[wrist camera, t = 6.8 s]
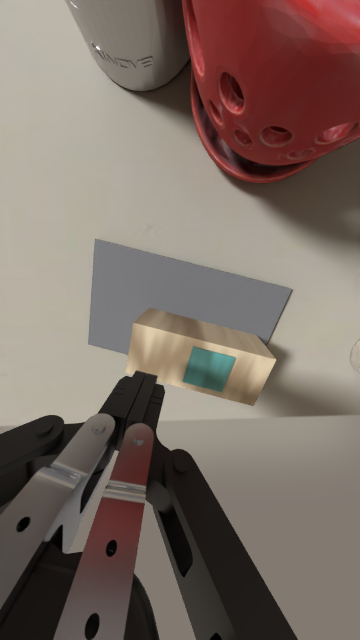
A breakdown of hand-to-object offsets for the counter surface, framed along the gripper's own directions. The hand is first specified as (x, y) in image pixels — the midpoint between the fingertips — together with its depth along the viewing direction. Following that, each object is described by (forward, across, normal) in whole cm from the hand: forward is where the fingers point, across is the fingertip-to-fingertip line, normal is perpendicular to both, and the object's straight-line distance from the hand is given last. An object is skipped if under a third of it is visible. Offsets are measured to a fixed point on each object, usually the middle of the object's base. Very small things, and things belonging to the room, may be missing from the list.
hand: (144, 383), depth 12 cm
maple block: (+6, +2, 0) cm, 6 cm away
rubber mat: (+9, -1, -2) cm, 9 cm away
